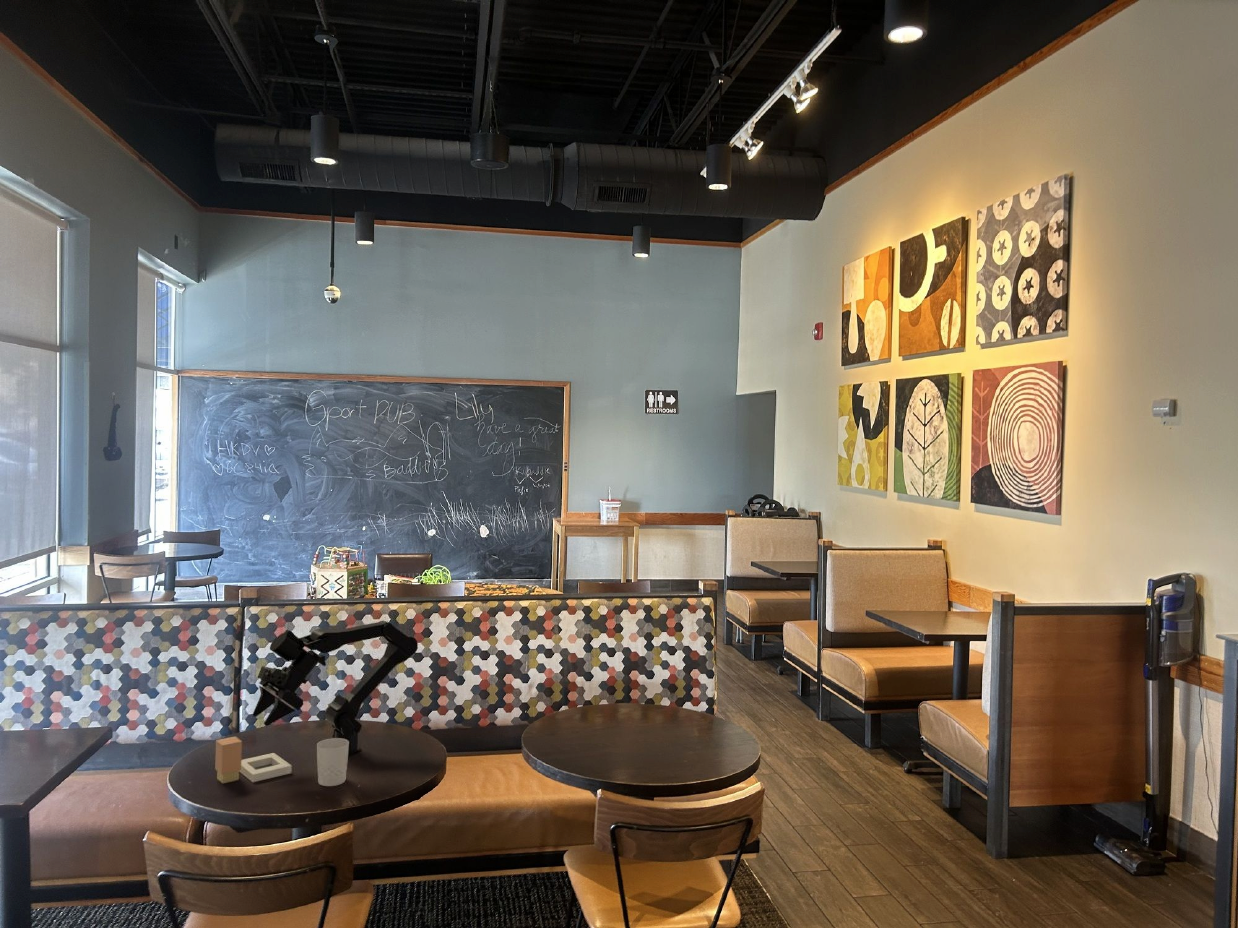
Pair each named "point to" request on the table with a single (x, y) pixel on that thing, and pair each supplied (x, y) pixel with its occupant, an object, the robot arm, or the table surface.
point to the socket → (264, 767)
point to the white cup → (332, 761)
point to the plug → (228, 759)
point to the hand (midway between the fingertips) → (259, 720)
